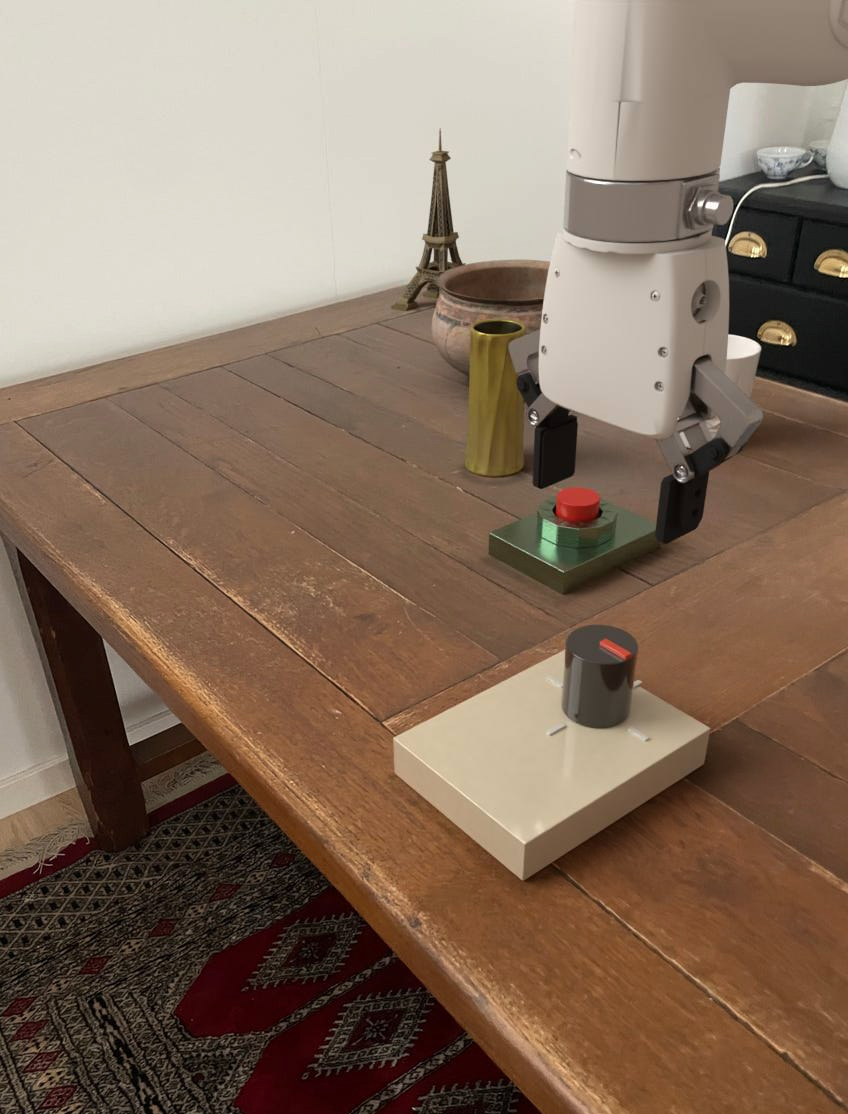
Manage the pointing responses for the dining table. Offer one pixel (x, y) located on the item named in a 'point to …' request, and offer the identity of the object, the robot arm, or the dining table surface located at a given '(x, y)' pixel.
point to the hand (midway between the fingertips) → (611, 506)
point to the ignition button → (577, 504)
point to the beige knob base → (544, 765)
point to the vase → (494, 401)
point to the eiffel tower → (434, 239)
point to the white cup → (737, 372)
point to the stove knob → (598, 675)
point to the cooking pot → (486, 302)
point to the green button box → (573, 545)
